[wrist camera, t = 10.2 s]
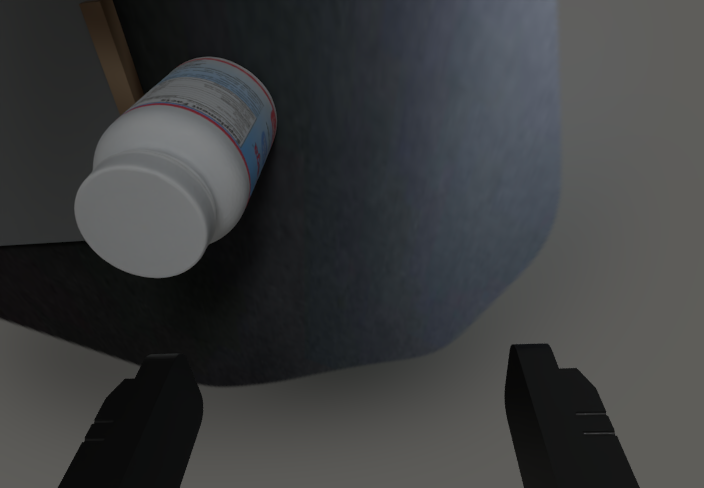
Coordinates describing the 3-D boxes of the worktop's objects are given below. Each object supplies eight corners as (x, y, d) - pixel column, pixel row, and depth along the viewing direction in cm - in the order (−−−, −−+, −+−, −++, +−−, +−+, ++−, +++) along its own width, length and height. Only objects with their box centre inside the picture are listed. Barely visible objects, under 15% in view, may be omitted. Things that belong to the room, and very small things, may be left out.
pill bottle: (241, 184, 29) (179, 319, 20) (144, 119, 27) (24, 237, 18) (302, 104, 26) (261, 219, 17) (198, 25, 24) (89, 108, 15)
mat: (-197, 6, 24) (-209, 8, 24) (97, -27, 23) (91, -25, 23) (-42, 243, 32) (-48, 248, 32) (184, 229, 31) (181, 234, 31)
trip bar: (91, -1, 24) (78, 3, 23) (111, -3, 24) (99, 1, 23) (168, 216, 31) (161, 227, 30) (184, 215, 30) (178, 226, 29)
